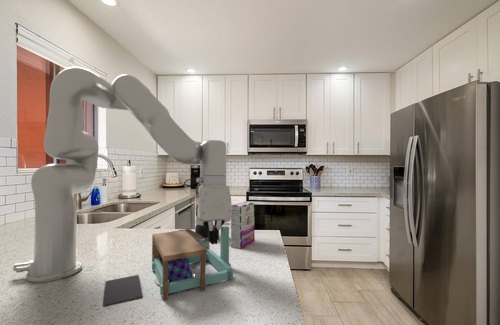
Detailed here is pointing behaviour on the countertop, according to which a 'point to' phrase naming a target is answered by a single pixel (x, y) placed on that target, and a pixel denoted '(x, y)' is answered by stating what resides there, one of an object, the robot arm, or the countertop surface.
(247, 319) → the countertop surface
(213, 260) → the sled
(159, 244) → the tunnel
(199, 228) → the cola bottle
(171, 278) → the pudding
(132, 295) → the mat
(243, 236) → the candy bar box
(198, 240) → the beverage carton
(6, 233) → the countertop surface
